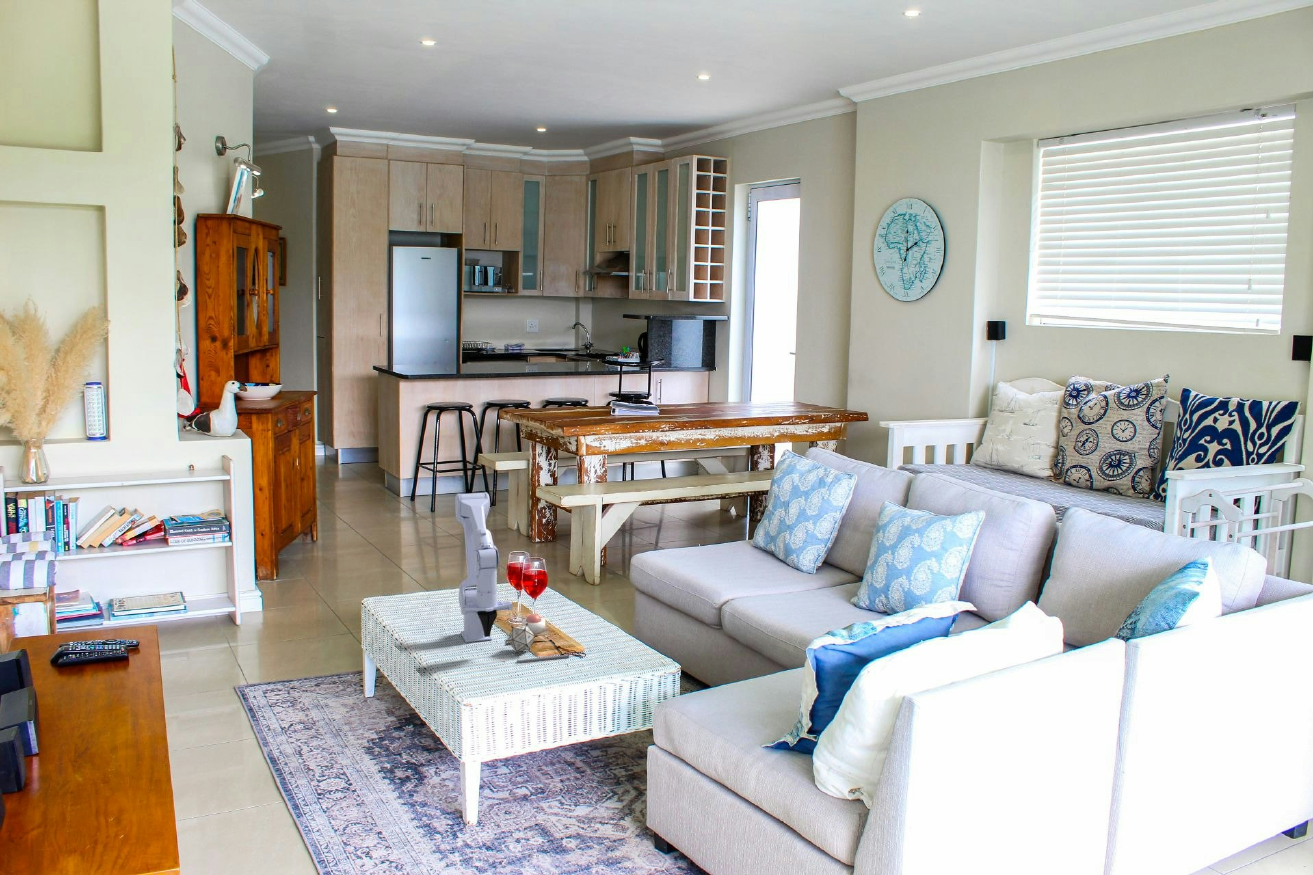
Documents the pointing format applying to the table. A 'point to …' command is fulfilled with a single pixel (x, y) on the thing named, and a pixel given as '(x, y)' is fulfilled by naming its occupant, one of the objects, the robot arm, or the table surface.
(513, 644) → the game die
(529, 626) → the dome
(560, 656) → the frame
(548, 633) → the dome base
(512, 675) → the table surface
